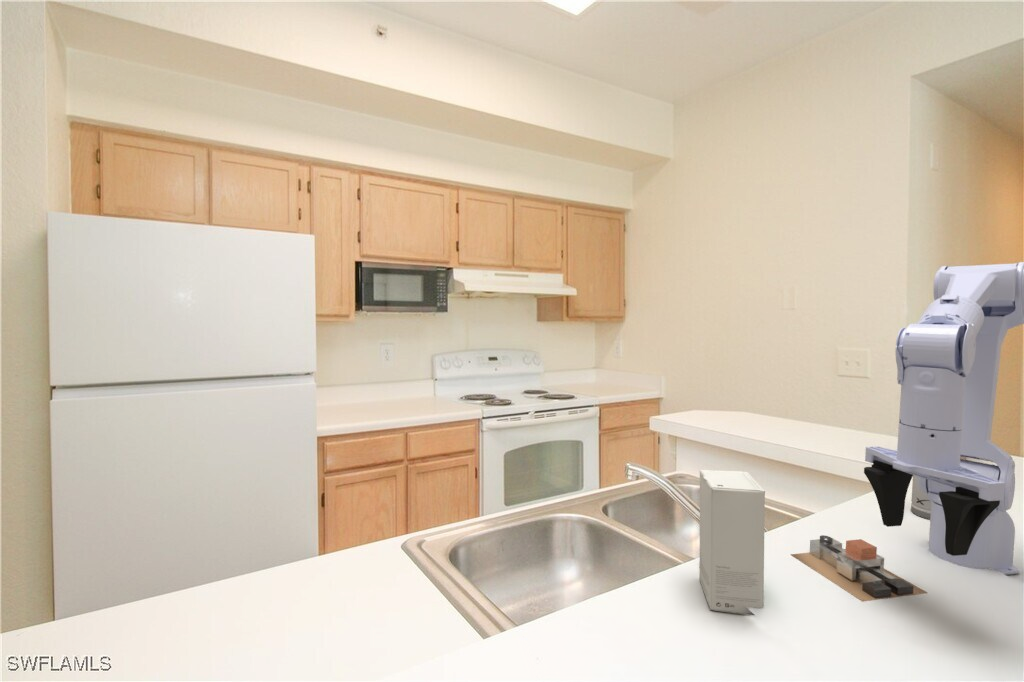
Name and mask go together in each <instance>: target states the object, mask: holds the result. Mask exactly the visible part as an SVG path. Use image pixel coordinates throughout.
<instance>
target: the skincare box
mask: <svg viewBox="0 0 1024 682" xmlns="http://www.w3.org/2000/svg"><path fill="white" fill-rule="evenodd" d="M765 496H766V490H765V489H764V488H763V487H762V486H761V485H760V484H759V483H758V482H757V481H756V480H755V479H754V478H753V476H752V475H751V474H750V473H749V472H748V471H741V470H716V469H715V470H711V469H700V470H699V565H698V566H699V570H698V571H699V574H698V575H699V577H698V579H699V581H700V584H701V586H702V587H701V588H702V591H703V593H704V596H705V598H706V602H707V604H708V607H709V610H710V611H715V612H721V613H722V612H723V613H731V614H739V615H740V614H741V615H750V616H755V613H753V611H751V610H750V609H749V608H752V609H753V608H754V609H755V608H756V609H764V608H765V607H764V606H765V605H764V604H765V603H764V602H765V601H764V600H765V598H764V595H765V594H764V593H765V591H764V589H765V588H764V587H765V577H764V576H765V523H766V522H765V517H766V516H765V509H766V508H765V507H766V506H765V505H766V504H765V503H766V497H765Z"/></svg>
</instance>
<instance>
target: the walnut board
mask: <svg viewBox="0 0 1024 682" xmlns="http://www.w3.org/2000/svg"><path fill="white" fill-rule="evenodd" d="M844 549H845V550H846V548H844ZM790 556H792V558H795V559H796V560H797V561H800V563H802V564H804V565H805V566H807V567H809V568H810V569H812V570H813V571H815V572H816V573H817V574H819V575H821V576H822V577H824V578H825V579H827V580H828V581H830V582H832V583H833V584H834V585H836V586H837V587H839V588H840V589H841V590H843V591H845V592H847V593H849V594H850V595H851V596H853V597H855V598H856V599H858V600H859V601H861V602H867V601H868V602H869V601H870V602H871V601H877V600H886V599H893V598H894V599H895V598H898V597H899V598H900V597H908V596H916V595H917V596H918V595H923V594H928V593H929V592H928V591H926V590H924V589H923V588H920V587H918V586H916V585H915V584H913V583H911V582H910V581H908V580H907V579H904V578H902V577H900V576H898V575H897V574H895V573H894V572H891V571H889V570H888V569H886V568H884V572H886V573H888V574H890V575H891V576H893V577H895V578H896V579H902V580H904V581H905V582H907V583H909V584H911V585H913V586H914V587H913V594H906V595H898V596H897V595H896V594H894V593H892V592H891V596H890V597H882V598H874V597H872V596H870V595H869V594H867V593H866V592H864V591H862V586H863V584H861V583H859V582H858V581H856V580H850V579H849V578H847V577H845V576H844V575H842V574H840V573H839V572H837V568H835V567H833V566H832V565H830V564H828V563H827V562H825V561H823V560H822V559H818V558H816V557H815V556H813V555H812V554H810V551H809V552H802V553H794V554H793V553H791V554H790Z"/></svg>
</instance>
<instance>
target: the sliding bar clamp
mask: <svg viewBox="0 0 1024 682" xmlns="http://www.w3.org/2000/svg"><path fill="white" fill-rule="evenodd" d="M845 549H846V548H843V543H842V542H840V541H839V540H836V539H835V538H833V537H831V536H829V535H820V536H819V539H810V540H809V552H810V554H812V555H813V556H815V557H816V558H818V559H822V560H823V561H825V562H827V563H828V564H830V565H832V566H833V567H835V568H837V555H838V553H841V552H846V550H845ZM902 579H903V578H902ZM902 579H896V578H895V577H893V576H891V575H890V574H888V573H886V572H884V571H882V570H881V569H879V568H877V567H875V566H873V567H864V568H856V581H858V582H859V583H861V584H863V586H862V591H864V592H866V593H867V594H869V595H870V596H872V597H874V598H882V597H890V596H891V592H892V593H894V594H896V595H897V596H898V595H906V594H913V587H914V586H913V585H914V584H913V585H911V584H912V583H911V584H909V583H907V582H905V581H904V580H905V579H904V580H902Z"/></svg>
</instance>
